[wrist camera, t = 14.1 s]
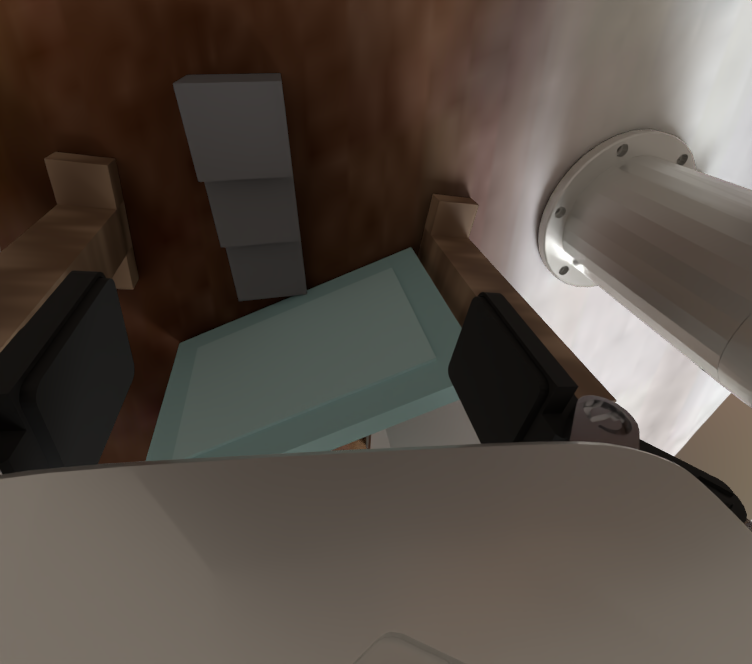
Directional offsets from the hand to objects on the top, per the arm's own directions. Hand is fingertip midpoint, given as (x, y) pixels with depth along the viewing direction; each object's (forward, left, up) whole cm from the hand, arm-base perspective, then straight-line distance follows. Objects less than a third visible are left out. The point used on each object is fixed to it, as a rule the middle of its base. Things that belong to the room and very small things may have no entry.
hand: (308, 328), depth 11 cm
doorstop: (+2, +3, -19) cm, 19 cm away
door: (-1, +10, -18) cm, 21 cm away
